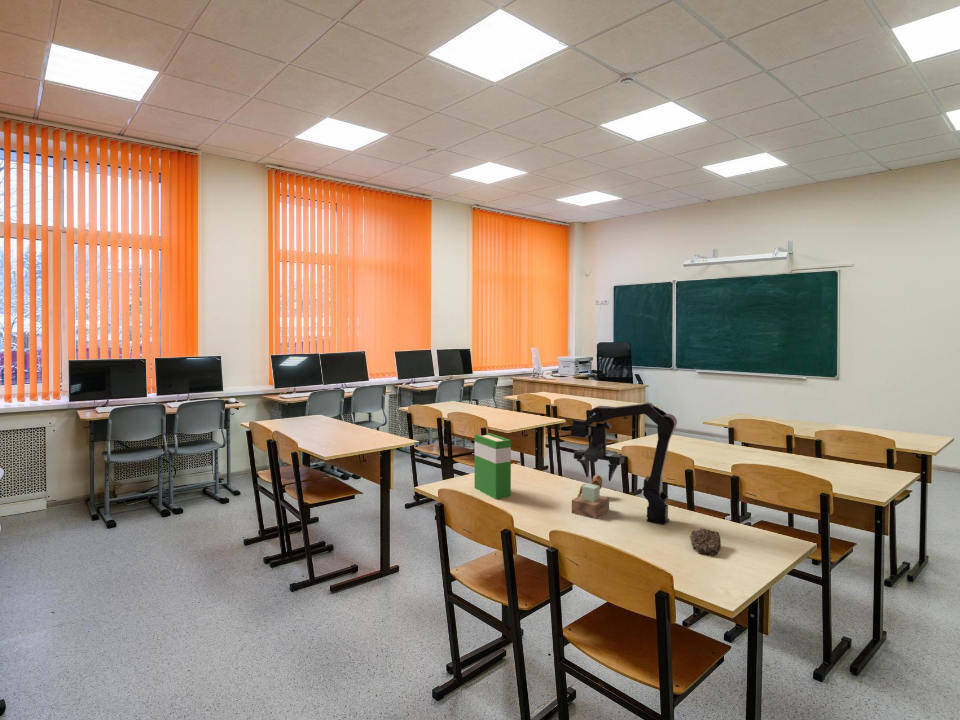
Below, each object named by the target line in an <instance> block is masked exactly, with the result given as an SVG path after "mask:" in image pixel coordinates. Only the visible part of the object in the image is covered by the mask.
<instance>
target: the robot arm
mask: <svg viewBox="0 0 960 720" xmlns="http://www.w3.org/2000/svg"><path fill="white" fill-rule="evenodd" d="M639 415H640V416H641V415H645V416H647V417H648V418H649V419H650V421H652V422H653V423H655V424H656V426H657V442H656V448H655V452H654V455H653V456H654V458H653V463H652V466H651V472H650V475H647V476H646V477H645V478H644V479H643V487H642V489H641V491H642V495H643V497H644V498H645V499H646V500H647V503H648V506H647V507H646V518H647V519H646V522H650V523H655V524H659V525H666V523H668V522H669V521H670V518H669V504H667V501H668V500H669V496H668V494H667V493H665V492H664V490H663V473H664V469H665V464H666V458H667V454H668V449H669V445H670V440H671V438H672V436H673V434H674V432H675V429H676V427H677V424H678V420H677V417H676V416H674V415H673V414H670V413H668V412H667V413H666V412H665V411H664V410H662V409H660V408H659V407H657V406H655V405H654V404H653V403H652V402H649V401H648V402H644V403H639V404H629V405H622V406H609V405H598V406H595V407H593V408H591V409H590V411H589V415H588V418H586V419H585V420H583V419H582V420H580V419H573V420H572V424H571V428H570V435H571V437H573V438H583V439H587V438H589V436H590V441H589V445H588V447H587V449H581V448H580V449H578V450H575V451H574V452H573V459H574V460H576V461H577V462H579V463H580V465H581V466H582V469H583V472H584V474H585V477H586V478H589V477H590V462H592V463H597V462H598V460H600V461H607V462H608V465H607V466H608V482H611V480H612V478H613V477H614V473H615V471H616V469H617V468H618V466H620V465H622V464H624V463H625V456H624V455H623V454H617V453H613V454H611V455H608V451H607V445H608V440H607V429H611V428H612V427H613V425H611V424H610V423H609V422H608V420H611V419H614V418H622V417H629V416H630V417H631V416H639ZM604 421H605V422H604ZM603 422H604V423H603ZM594 423H596V424H594Z"/></svg>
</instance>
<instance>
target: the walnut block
mask: <svg viewBox="0 0 960 720" xmlns="http://www.w3.org/2000/svg"><path fill="white" fill-rule="evenodd" d="M608 511H610V496H604V495H600V498H599V499H598V500H596V501H594V502H593V501H588V500H583V499H582V494H581V495H580V496H578V495H577V496H576V497H574V498H573V499H571V514H574V513H575V514H574V515H578V514H579V516H582V515H583V517H586V518H587V517H588V518H592V519H595V520H597V519H598V518H599V517H601V516H602V515H604V514H605V513H607V512H608Z"/></svg>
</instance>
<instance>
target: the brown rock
mask: <svg viewBox="0 0 960 720" xmlns="http://www.w3.org/2000/svg"><path fill="white" fill-rule="evenodd" d="M689 539H690V543H691V547H692V550H696V552H697V554H701V555H706V556H709V555H711V556H710V557H713V556H717V555H718V554H719V551H720V550H721V549H722V545H721V542H722V541H721V535H720V532H718V531H717V530H710V529H705V528H700V529H698V530H691V532H690V536H689Z"/></svg>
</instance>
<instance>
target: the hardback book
mask: <svg viewBox="0 0 960 720" xmlns="http://www.w3.org/2000/svg"><path fill="white" fill-rule="evenodd" d="M511 473H512V440H511V439H508V438H506V437H502V436H499V435H496V434H493V433H490V432H487V434H485V435H480V434H474V489H475V488H476V491H477V490H478V491H479V490H480V491H479V492H481V493H482V494H485V495H486V496H489V497H490V498H492V499H494V500H500V499H505V498H504V497H506V498H510V497H509V496H511V495H512V492H511V491H512V490H511V489H512V488H511V487H512V485H511V484H512V483H511V481H512V480H511V479H512V474H511ZM499 498H500V499H499Z"/></svg>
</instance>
